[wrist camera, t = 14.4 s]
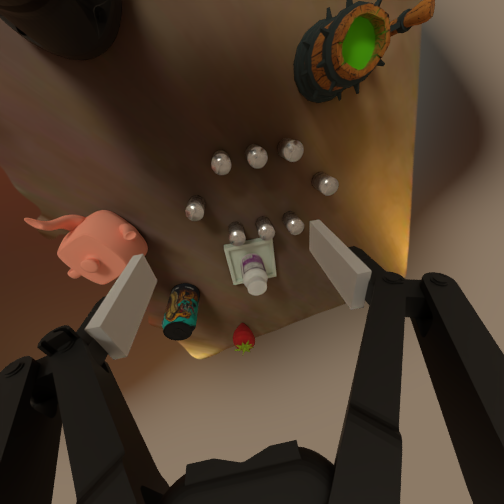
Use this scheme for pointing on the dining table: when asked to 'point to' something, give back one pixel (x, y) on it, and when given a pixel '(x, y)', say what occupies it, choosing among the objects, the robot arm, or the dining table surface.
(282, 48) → the dining table surface
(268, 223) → the posts
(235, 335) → the strawberry
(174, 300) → the beverage can
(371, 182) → the dining table surface
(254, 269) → the pill bottle
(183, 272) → the dining table surface
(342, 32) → the mug
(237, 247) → the tray
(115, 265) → the teapot
